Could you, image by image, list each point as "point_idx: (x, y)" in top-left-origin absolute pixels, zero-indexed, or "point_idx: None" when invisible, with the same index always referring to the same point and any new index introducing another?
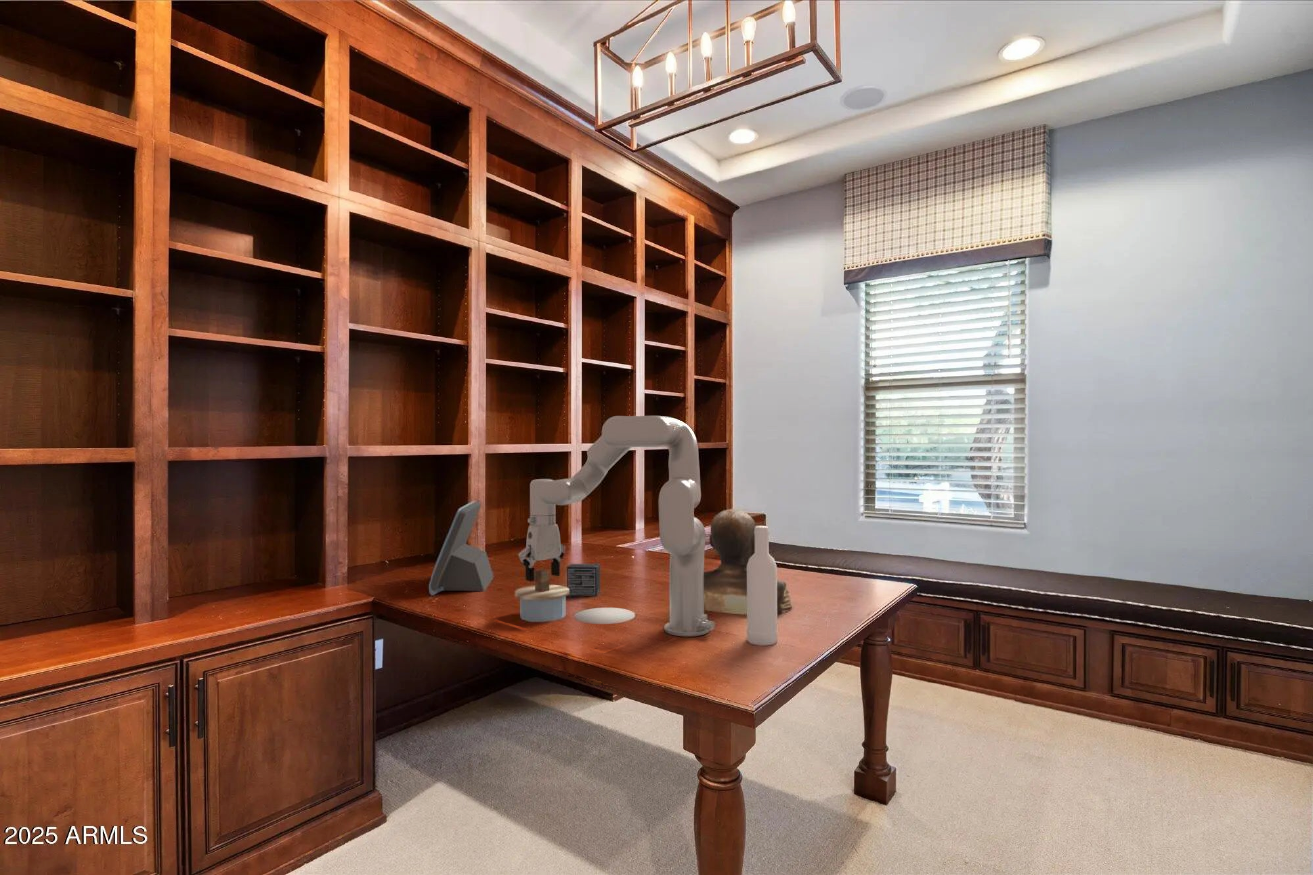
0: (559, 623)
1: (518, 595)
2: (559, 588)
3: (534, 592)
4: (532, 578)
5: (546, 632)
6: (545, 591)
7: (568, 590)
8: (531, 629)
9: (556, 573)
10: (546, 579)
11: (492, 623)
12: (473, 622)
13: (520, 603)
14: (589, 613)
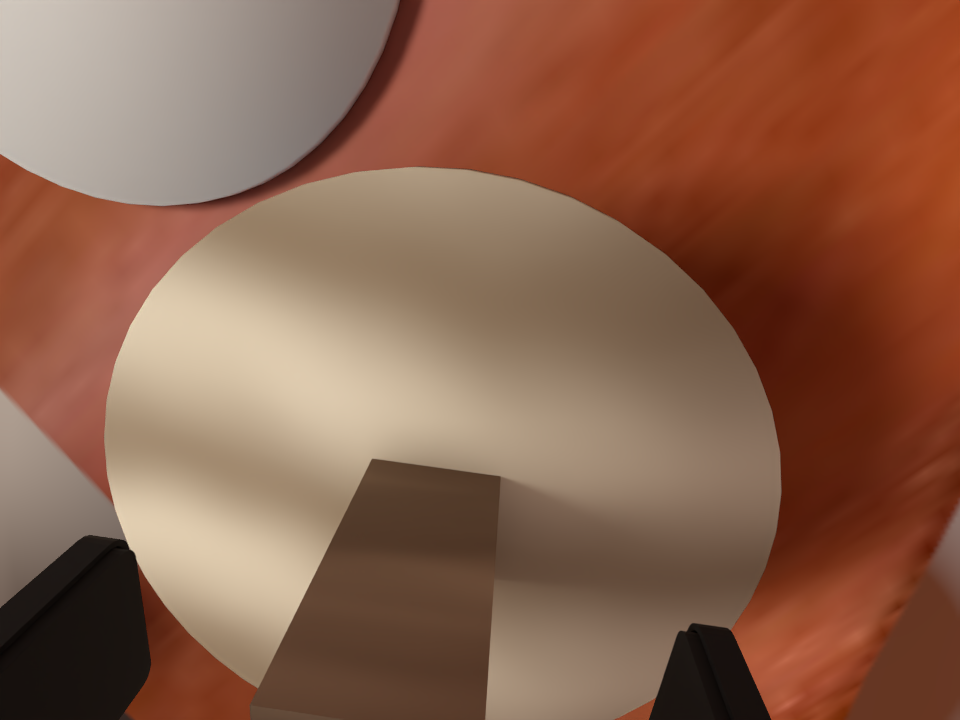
0: (521, 143)
1: (744, 598)
2: (218, 422)
3: (557, 534)
4: (745, 671)
5: (818, 32)
6: (444, 461)
7: (209, 244)
8: (787, 226)
9: (108, 597)
10: (387, 571)
11: (766, 565)
12: (796, 665)
13: None
14: (161, 78)
